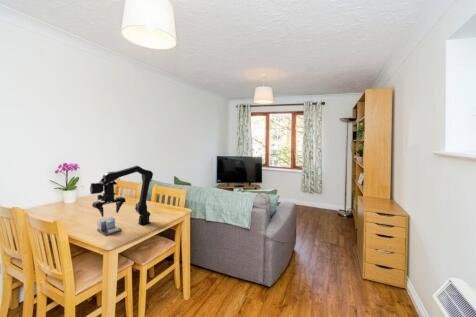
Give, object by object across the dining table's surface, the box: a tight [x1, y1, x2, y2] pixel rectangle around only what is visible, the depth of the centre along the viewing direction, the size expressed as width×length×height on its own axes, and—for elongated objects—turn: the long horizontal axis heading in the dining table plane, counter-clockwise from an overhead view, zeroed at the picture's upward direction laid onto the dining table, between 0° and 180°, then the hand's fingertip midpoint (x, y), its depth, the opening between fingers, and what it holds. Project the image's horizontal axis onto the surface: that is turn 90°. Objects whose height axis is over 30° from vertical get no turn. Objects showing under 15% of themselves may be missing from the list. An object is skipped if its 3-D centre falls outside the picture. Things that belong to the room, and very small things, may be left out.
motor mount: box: [96, 216, 123, 237], centre depth 154 cm, size 10×13×7 cm
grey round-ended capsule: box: [106, 219, 116, 231], centre depth 153 cm, size 5×5×6 cm
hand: (109, 214), depth 152 cm, fingers open, 9 cm apart
